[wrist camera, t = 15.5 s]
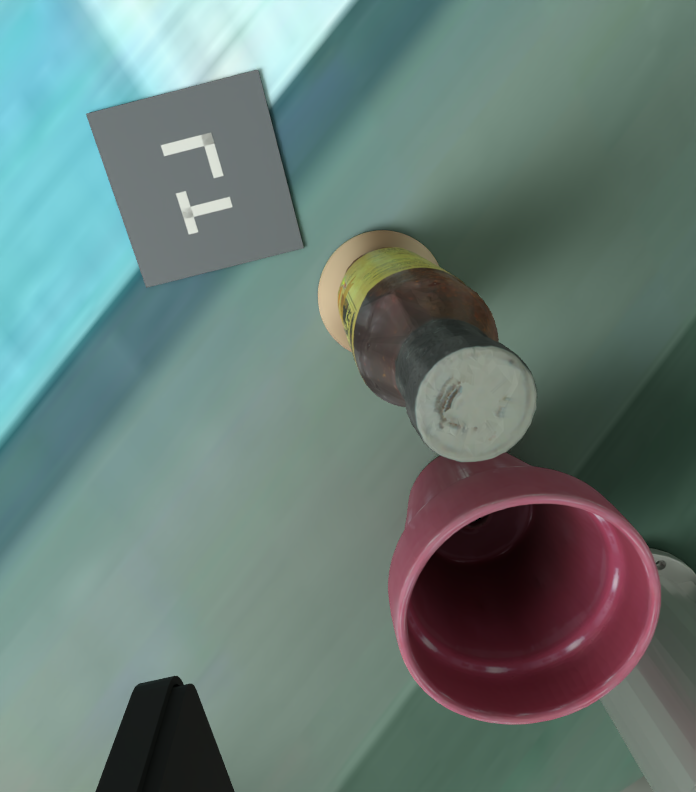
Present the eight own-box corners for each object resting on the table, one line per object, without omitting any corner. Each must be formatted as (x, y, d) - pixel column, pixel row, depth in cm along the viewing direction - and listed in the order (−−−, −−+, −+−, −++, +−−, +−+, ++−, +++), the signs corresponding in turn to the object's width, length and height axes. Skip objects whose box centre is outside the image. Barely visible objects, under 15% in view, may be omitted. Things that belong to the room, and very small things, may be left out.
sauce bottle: (315, 287, 37) (320, 378, 18) (397, 223, 36) (491, 247, 17) (379, 367, 39) (443, 526, 20) (457, 308, 38) (604, 414, 19)
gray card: (258, 70, 33) (257, 69, 33) (303, 247, 37) (303, 248, 36) (86, 114, 34) (85, 113, 33) (146, 287, 37) (146, 287, 37)
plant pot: (348, 439, 41) (363, 541, 29) (548, 383, 40) (649, 462, 28) (399, 606, 45) (430, 755, 33) (579, 558, 45) (678, 690, 33)
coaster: (430, 216, 36) (432, 216, 36) (453, 340, 39) (455, 342, 38) (303, 247, 37) (303, 248, 36) (334, 369, 39) (335, 371, 38)
